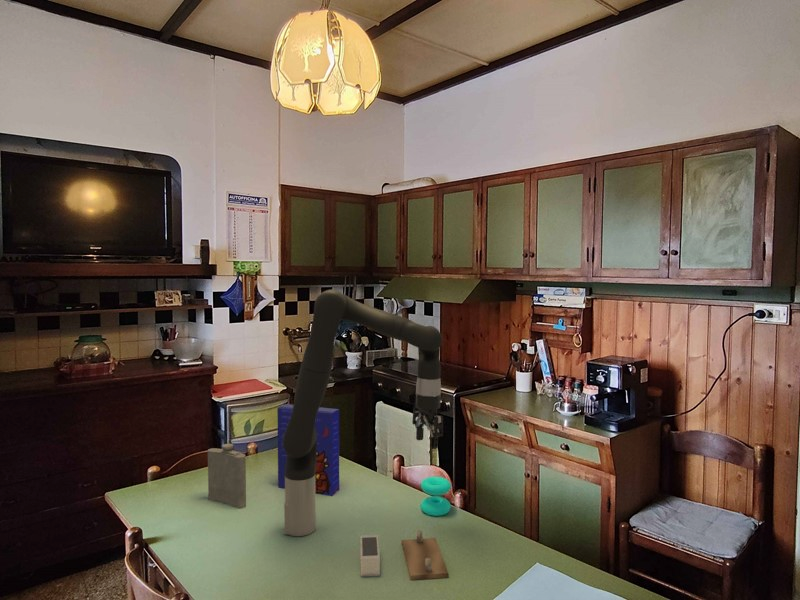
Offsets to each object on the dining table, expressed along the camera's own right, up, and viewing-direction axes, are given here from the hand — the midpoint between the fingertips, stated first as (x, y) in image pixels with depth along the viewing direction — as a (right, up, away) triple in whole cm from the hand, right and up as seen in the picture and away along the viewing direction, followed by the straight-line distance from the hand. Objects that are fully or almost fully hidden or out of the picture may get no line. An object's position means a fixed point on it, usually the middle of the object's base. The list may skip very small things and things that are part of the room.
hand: (426, 444), depth 161 cm
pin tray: (-2, -28, -15) cm, 32 cm away
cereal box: (-42, -25, +31) cm, 58 cm away
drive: (-17, -28, -17) cm, 37 cm away
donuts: (+4, -26, +15) cm, 30 cm away
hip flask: (-67, -26, +20) cm, 75 cm away
